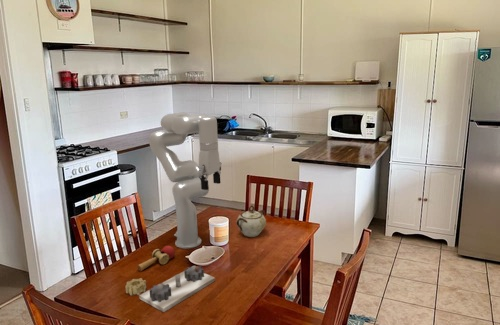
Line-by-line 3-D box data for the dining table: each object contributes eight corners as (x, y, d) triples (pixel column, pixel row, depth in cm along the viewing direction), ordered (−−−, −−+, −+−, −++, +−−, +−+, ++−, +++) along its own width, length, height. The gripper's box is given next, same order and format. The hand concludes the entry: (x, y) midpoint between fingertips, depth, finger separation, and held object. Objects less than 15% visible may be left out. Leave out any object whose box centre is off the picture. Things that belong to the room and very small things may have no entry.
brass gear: (122, 291, 153) (121, 284, 152) (138, 283, 159) (137, 276, 158) (134, 297, 148) (133, 290, 148) (150, 289, 154) (149, 282, 153)
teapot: (254, 224, 215) (253, 198, 212) (275, 231, 205) (275, 204, 201) (227, 235, 202) (226, 207, 198) (248, 244, 191) (247, 214, 188)
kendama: (146, 277, 166) (180, 256, 178) (142, 263, 165) (176, 243, 177) (137, 274, 171) (170, 254, 184) (132, 261, 170) (166, 241, 182)
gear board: (139, 298, 148) (137, 283, 146) (190, 270, 167) (189, 256, 166) (163, 312, 139) (162, 295, 138) (215, 280, 159) (214, 266, 157)
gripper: (212, 142, 173) (214, 180, 177) (189, 150, 158) (192, 191, 162) (227, 143, 170) (228, 181, 174) (205, 151, 155) (207, 193, 158)
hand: (211, 186), depth 168 cm, fingers open, 9 cm apart
